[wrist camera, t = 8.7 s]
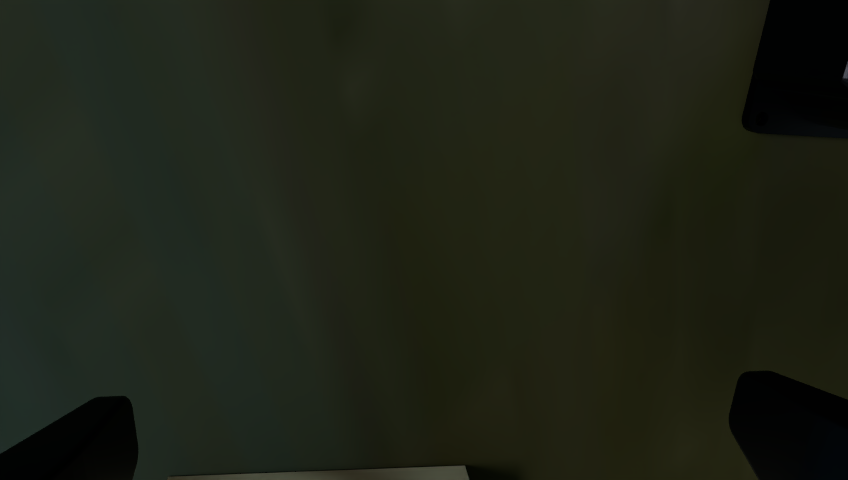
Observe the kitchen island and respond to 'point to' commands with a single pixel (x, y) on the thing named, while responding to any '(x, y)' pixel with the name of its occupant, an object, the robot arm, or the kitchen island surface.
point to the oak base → (349, 474)
